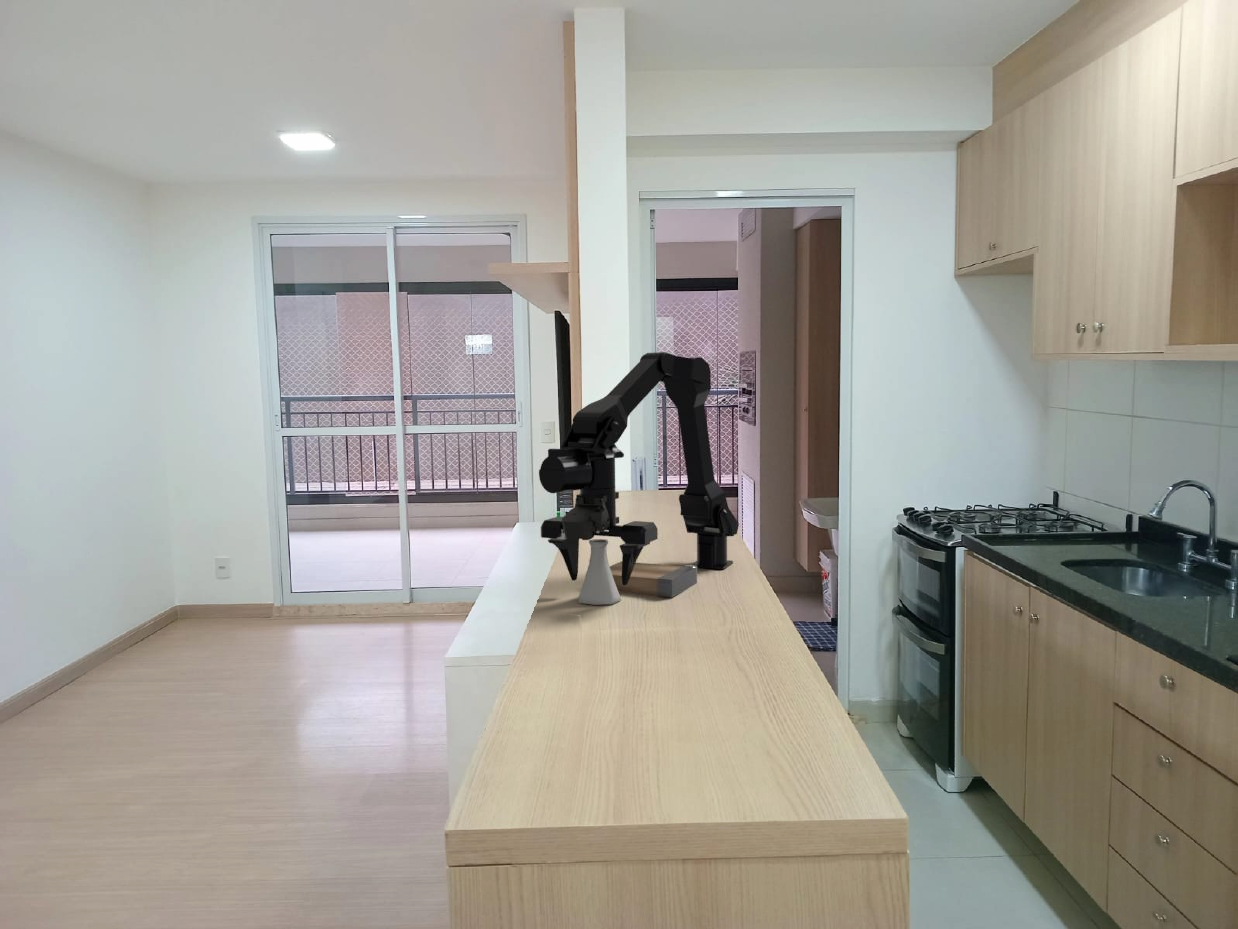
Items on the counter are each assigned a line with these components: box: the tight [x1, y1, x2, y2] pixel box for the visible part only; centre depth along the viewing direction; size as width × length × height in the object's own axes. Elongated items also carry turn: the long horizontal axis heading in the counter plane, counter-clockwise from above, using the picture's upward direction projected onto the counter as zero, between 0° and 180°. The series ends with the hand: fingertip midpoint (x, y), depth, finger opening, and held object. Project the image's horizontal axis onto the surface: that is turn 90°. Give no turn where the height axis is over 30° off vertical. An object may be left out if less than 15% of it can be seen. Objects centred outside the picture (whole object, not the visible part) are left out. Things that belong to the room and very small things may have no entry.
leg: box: [657, 564, 698, 599], centre depth 146 cm, size 12×2×3 cm, turn 153°
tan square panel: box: [609, 561, 683, 597], centre depth 149 cm, size 11×12×3 cm
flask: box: [577, 538, 622, 606], centre depth 139 cm, size 7×7×10 cm
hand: (599, 582), depth 140 cm, fingers open, 9 cm apart
